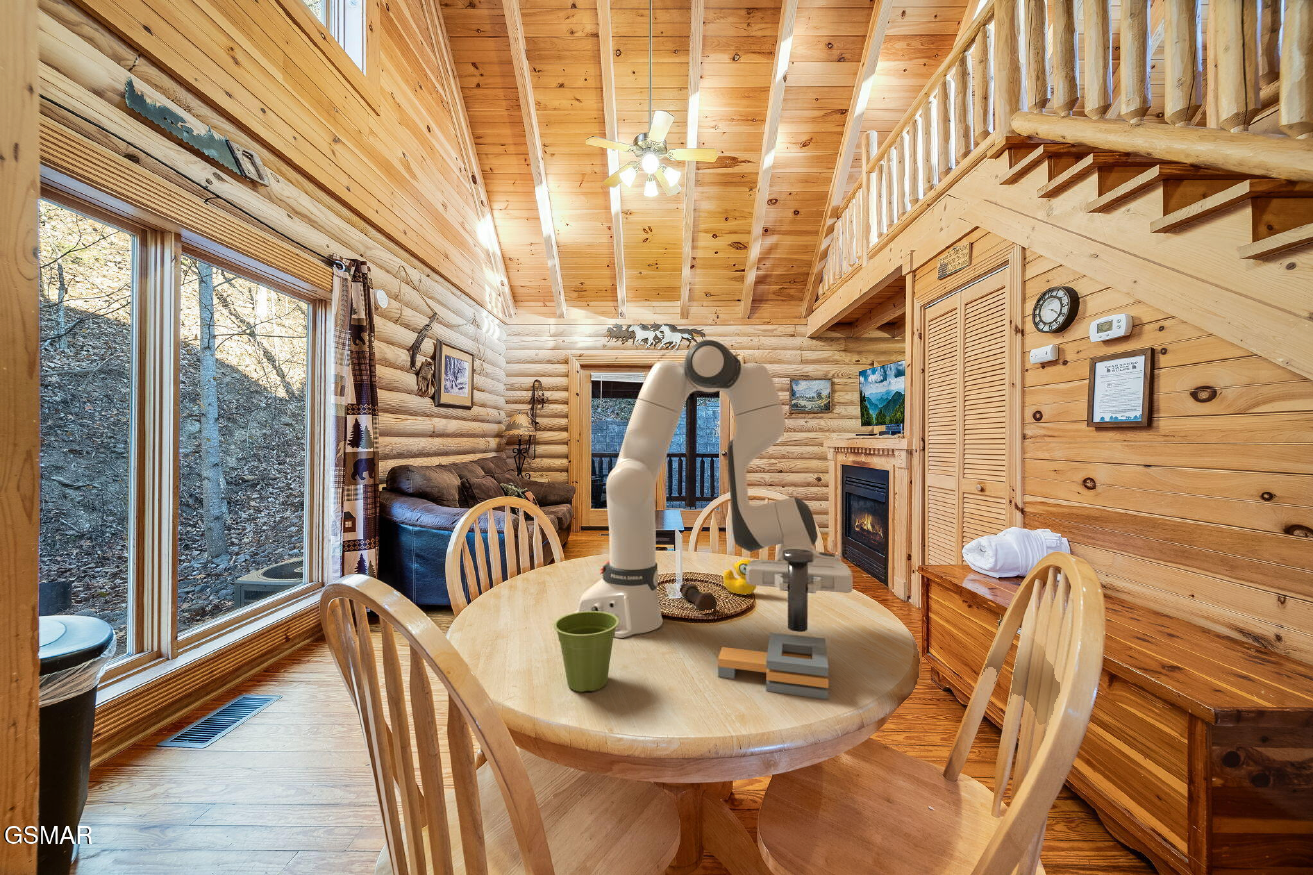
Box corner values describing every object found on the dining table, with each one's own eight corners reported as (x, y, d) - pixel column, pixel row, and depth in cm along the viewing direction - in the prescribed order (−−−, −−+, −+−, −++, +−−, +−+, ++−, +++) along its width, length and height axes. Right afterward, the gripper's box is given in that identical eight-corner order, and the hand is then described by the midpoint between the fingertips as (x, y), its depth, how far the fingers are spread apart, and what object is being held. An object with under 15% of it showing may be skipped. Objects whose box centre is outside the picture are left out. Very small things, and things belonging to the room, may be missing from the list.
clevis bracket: (715, 683, 91) (715, 654, 91) (725, 654, 103) (725, 627, 103) (828, 699, 85) (828, 667, 85) (825, 666, 97) (825, 638, 97)
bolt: (686, 601, 140) (710, 619, 125) (672, 594, 138) (694, 611, 124) (695, 582, 141) (720, 597, 126) (681, 575, 139) (704, 589, 125)
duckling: (765, 595, 139) (765, 559, 139) (760, 601, 134) (760, 564, 134) (727, 588, 144) (727, 554, 144) (720, 594, 140) (720, 558, 139)
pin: (781, 632, 92) (782, 555, 91) (782, 620, 97) (782, 548, 97) (813, 635, 90) (814, 557, 90) (812, 623, 95) (813, 549, 95)
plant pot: (627, 670, 96) (626, 612, 96) (607, 703, 85) (607, 637, 84) (569, 664, 99) (569, 607, 99) (543, 695, 87) (542, 631, 87)
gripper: (747, 549, 108) (741, 566, 95) (848, 555, 103) (856, 575, 90) (747, 578, 109) (741, 599, 95) (848, 586, 103) (855, 610, 90)
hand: (797, 587), depth 92 cm, fingers closed on pin, 4 cm apart
